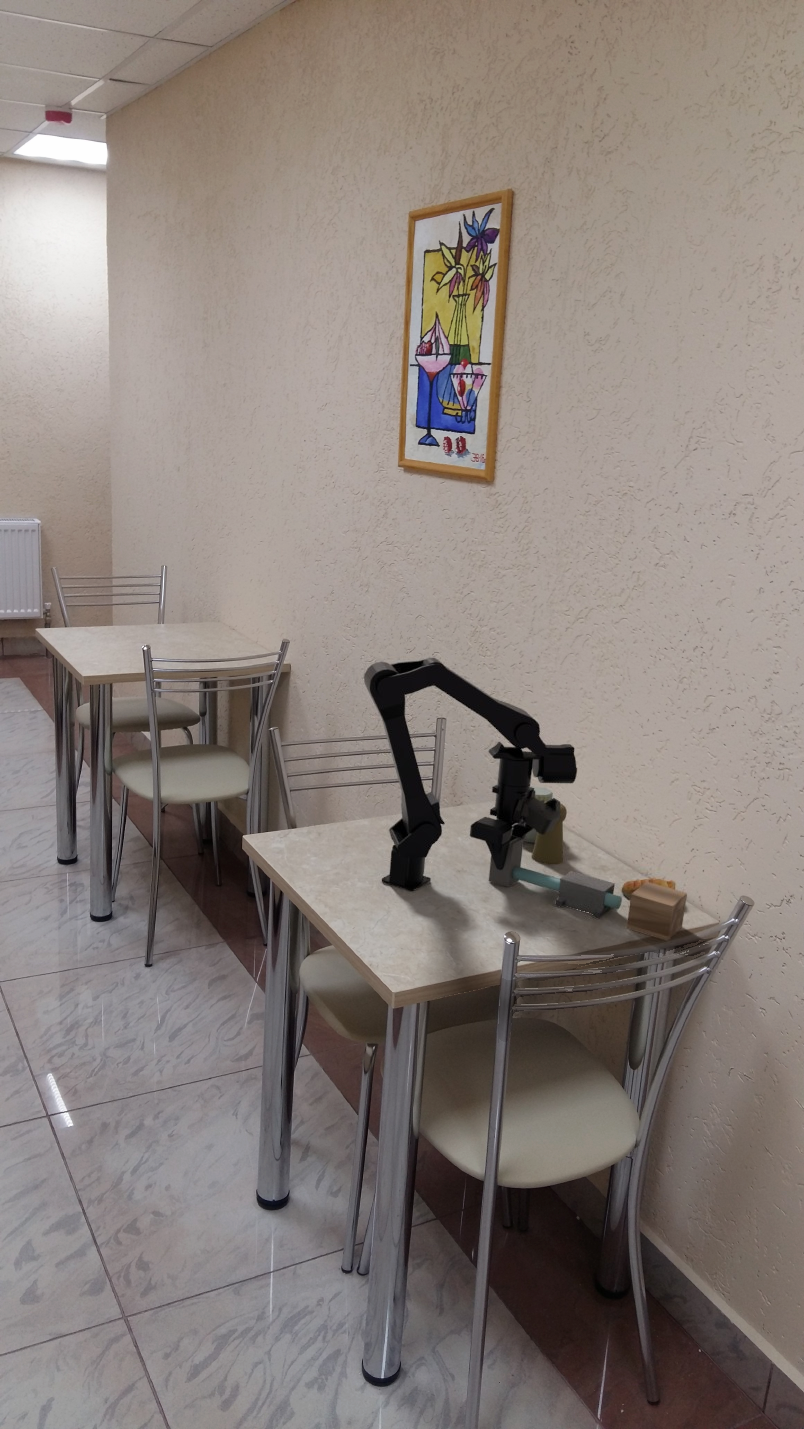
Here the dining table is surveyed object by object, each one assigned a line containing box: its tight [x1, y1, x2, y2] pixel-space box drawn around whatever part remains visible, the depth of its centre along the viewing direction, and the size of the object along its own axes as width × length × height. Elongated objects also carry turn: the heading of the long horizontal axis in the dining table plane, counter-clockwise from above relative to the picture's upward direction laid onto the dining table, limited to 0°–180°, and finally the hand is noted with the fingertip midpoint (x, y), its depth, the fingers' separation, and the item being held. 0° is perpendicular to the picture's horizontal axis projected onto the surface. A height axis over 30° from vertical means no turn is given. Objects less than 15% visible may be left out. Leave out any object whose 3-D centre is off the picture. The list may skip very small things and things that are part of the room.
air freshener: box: [523, 785, 554, 844], centre depth 218 cm, size 11×8×10 cm
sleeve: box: [554, 870, 616, 920], centre depth 188 cm, size 6×8×5 cm
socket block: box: [626, 882, 688, 941], centre depth 181 cm, size 7×7×6 cm
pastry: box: [621, 877, 677, 899], centre depth 194 cm, size 9×7×4 cm
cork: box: [531, 802, 568, 866], centre depth 208 cm, size 6×6×11 cm
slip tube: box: [488, 835, 623, 910], centre depth 190 cm, size 4×24×8 cm, turn 57°
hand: (505, 865), depth 196 cm, fingers closed on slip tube, 4 cm apart
